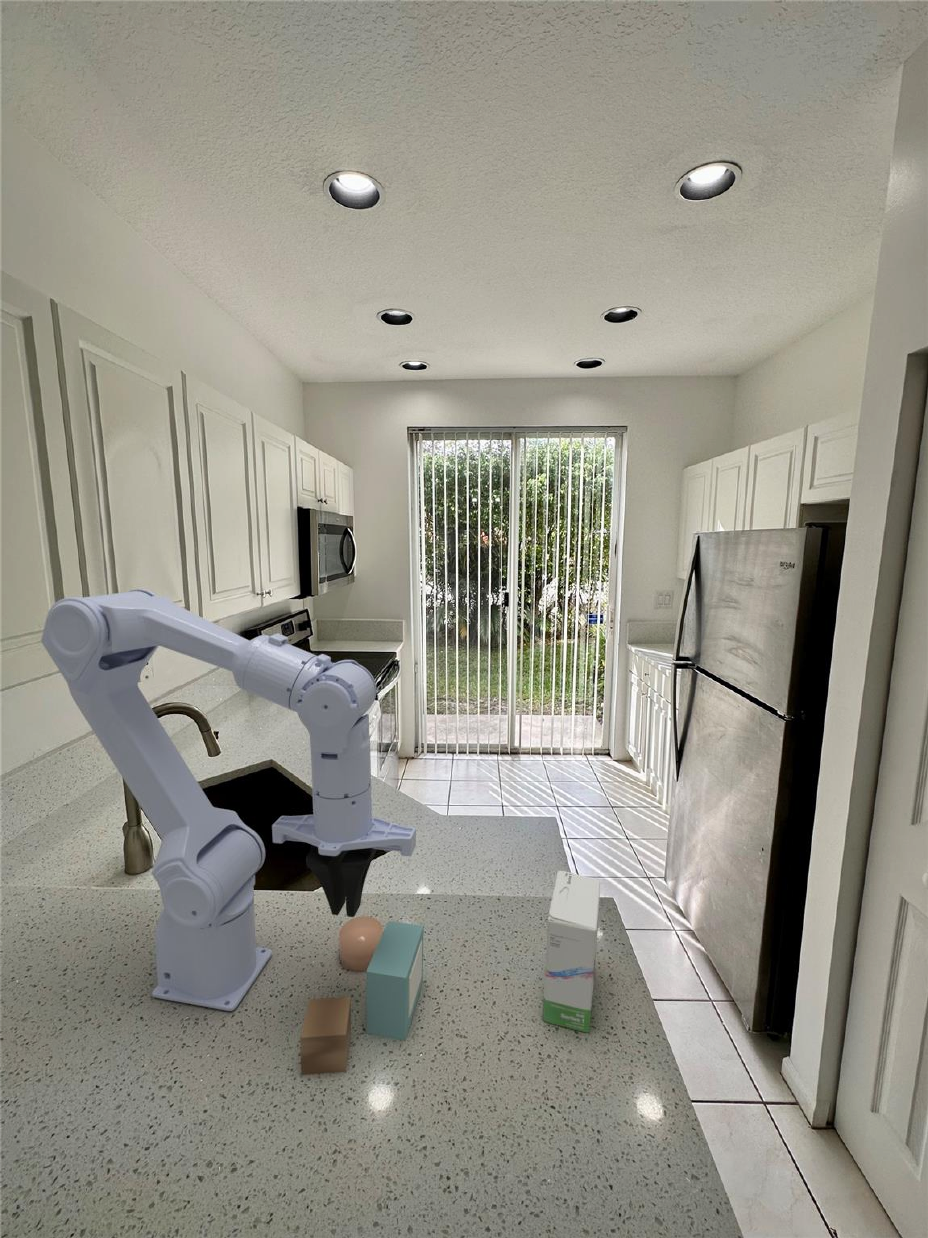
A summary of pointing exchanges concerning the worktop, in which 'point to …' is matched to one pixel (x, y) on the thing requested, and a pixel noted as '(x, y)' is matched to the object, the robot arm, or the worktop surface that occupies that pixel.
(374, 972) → the teal block
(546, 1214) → the worktop surface
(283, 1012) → the worktop surface
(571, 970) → the ink box
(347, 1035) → the walnut cube
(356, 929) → the peach rounded dome
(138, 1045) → the worktop surface
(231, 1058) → the worktop surface
